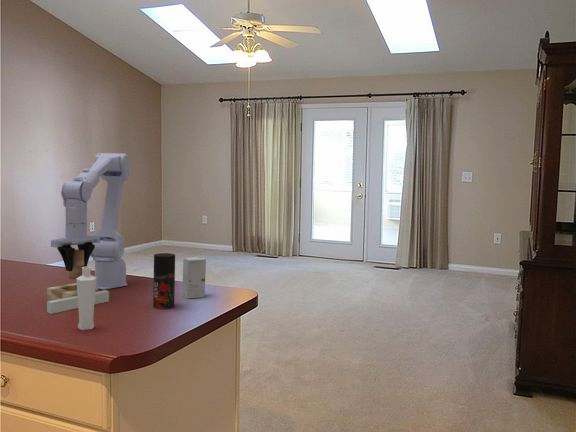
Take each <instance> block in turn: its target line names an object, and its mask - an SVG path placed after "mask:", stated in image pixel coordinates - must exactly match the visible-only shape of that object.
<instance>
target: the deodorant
mask: <svg viewBox="0 0 576 432" xmlns="http://www.w3.org/2000/svg"><path fill="white" fill-rule="evenodd" d="M175 281H176V254H174V253H170V252H169V253H168V252H161V253H160V252H159V253H155V254H153V283H152V284H153V287H152V289H153V290H152V292H153V293H152V296H153V297H152V298H153V299H152V301H153V302H152V306H153V308H154V309H157V310H168V309H169V310H170V309H172V308H174V307H175V293H176V292H175V290H176V289H175V287H176V285H175V284H176V283H175Z"/></svg>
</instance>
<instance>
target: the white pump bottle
mask: <svg viewBox="0 0 576 432" xmlns="http://www.w3.org/2000/svg"><path fill="white" fill-rule="evenodd" d="M91 268H92V266H87V267H82V276H80V277H78V278H76V279H75V280H76V282H75V283H77V296H78V308H77V309H78V319H79V320H78V325H77V329H79V330H81V331H86V330H93V329H94V328H95V324H94V323H95V321H94V311H95V305H94V301H95V288H96V277H95V275H92V274H91V272H92V271H91Z"/></svg>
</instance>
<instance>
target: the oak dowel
mask: <svg viewBox="0 0 576 432" xmlns="http://www.w3.org/2000/svg"><path fill="white" fill-rule="evenodd" d="M82 267H84V250H79V249H75V251H74V255H73V269H72V271H68V272H69V274H68V279H70V280H76V278H78V277H80V276H82Z"/></svg>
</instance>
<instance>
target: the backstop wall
mask: <svg viewBox="0 0 576 432" xmlns="http://www.w3.org/2000/svg"><path fill="white" fill-rule="evenodd" d="M109 301H110V291H109V290H107V289H106V290H100V291H99V290H98V292H95V301H94V306H95V305H98V304H103V303H104V304H105V303H107V302H109ZM75 309H76V310H77V309H78V296H73V297H68V298H63V299H58V300H52V301H47V300H46V313H47V314H50V315H51V314H52V315H53V314H57V313H63V312H66V311H71V310H75Z"/></svg>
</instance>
